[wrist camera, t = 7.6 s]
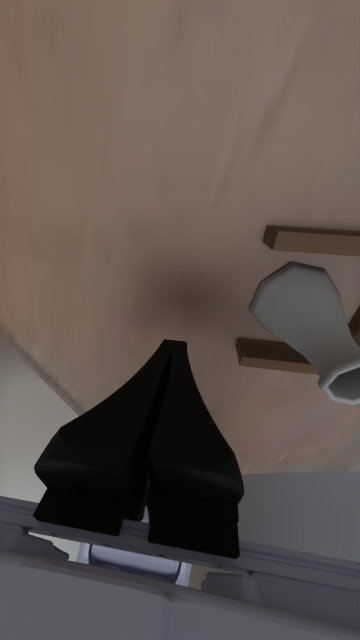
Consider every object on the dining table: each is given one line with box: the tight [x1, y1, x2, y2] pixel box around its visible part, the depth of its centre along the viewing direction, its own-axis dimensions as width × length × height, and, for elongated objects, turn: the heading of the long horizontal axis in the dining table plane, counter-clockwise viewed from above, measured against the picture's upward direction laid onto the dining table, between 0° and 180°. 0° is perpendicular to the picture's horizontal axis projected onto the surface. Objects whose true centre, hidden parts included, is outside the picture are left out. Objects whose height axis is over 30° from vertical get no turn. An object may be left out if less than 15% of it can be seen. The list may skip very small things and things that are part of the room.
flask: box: [249, 262, 360, 406], centre depth 14 cm, size 7×7×10 cm
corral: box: [236, 226, 360, 375], centre depth 17 cm, size 12×11×3 cm
